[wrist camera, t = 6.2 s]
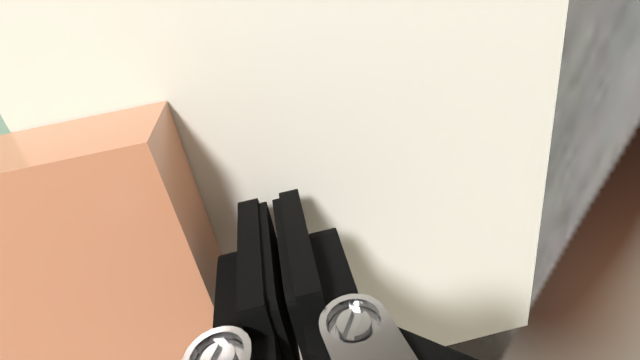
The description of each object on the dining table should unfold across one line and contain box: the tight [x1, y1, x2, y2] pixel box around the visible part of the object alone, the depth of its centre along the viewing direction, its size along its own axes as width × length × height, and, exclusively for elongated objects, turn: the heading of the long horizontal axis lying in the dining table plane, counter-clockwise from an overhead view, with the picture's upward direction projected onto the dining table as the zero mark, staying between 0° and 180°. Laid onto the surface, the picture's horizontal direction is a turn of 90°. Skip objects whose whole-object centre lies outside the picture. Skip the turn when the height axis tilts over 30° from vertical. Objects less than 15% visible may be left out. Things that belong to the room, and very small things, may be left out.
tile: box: [0, 101, 222, 360], centre depth 11 cm, size 9×7×2 cm
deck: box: [0, 0, 569, 360], centre depth 14 cm, size 15×14×4 cm
